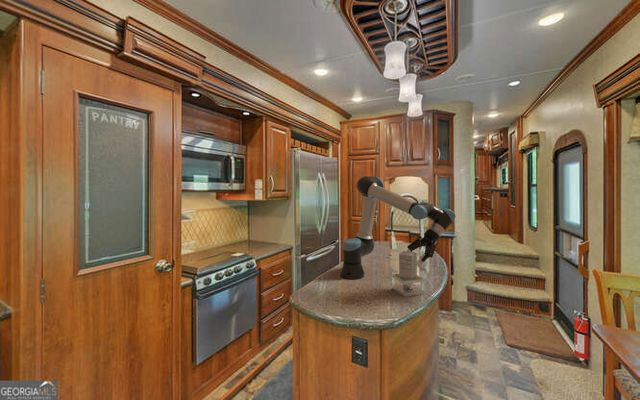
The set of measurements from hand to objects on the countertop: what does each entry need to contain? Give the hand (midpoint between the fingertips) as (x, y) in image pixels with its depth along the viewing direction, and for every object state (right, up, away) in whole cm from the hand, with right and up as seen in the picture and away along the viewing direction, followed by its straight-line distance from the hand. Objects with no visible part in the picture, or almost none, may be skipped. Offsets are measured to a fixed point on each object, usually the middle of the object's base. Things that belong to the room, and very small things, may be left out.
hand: (410, 262), depth 146 cm
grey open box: (-1, -16, +1) cm, 16 cm away
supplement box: (-1, -8, 0) cm, 8 cm away
